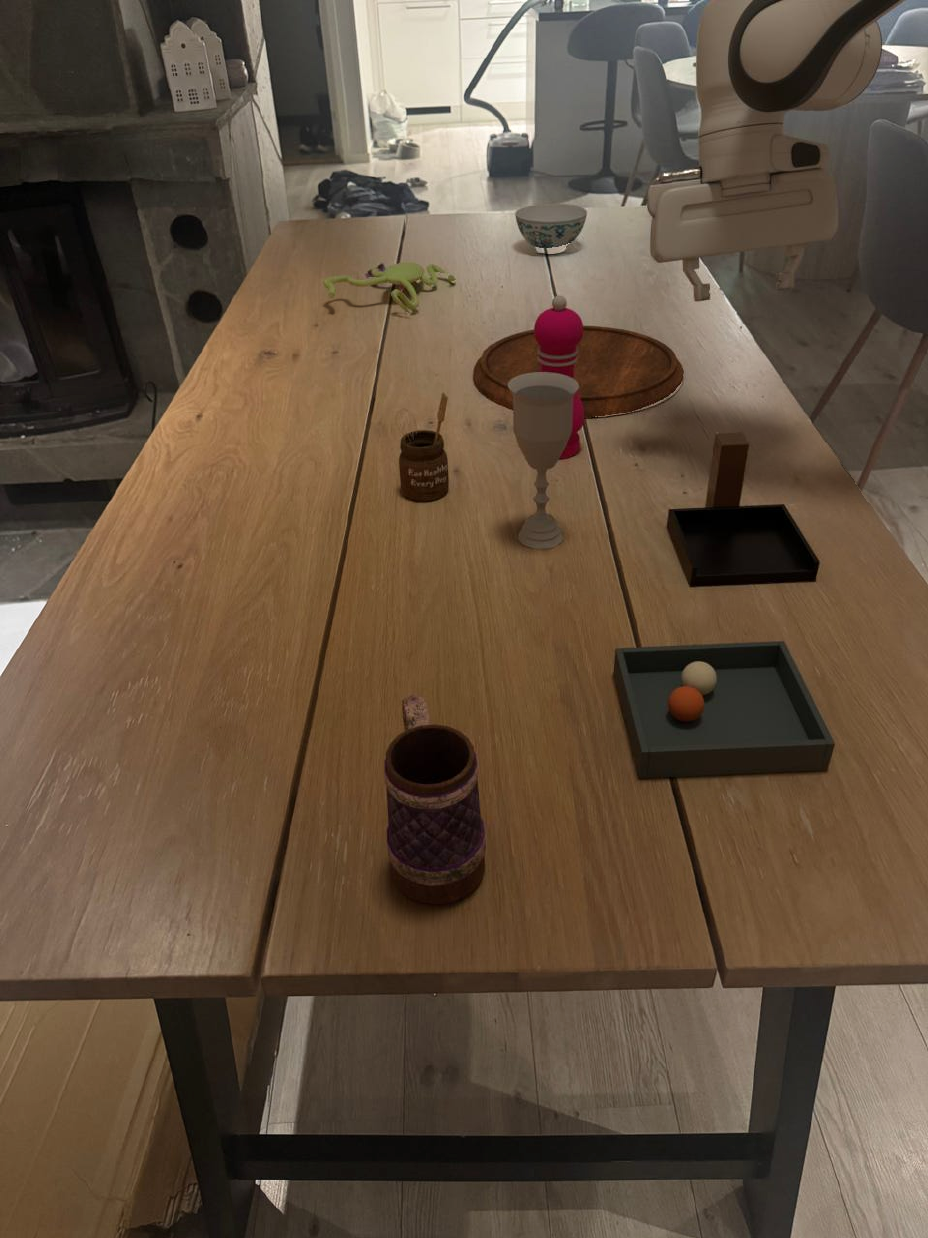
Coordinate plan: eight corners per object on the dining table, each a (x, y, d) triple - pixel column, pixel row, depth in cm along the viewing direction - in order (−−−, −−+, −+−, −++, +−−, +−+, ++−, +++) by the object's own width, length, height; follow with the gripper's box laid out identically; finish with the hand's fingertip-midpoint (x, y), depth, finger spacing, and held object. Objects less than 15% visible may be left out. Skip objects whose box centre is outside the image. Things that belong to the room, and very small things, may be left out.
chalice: (582, 530, 105) (590, 379, 95) (556, 559, 101) (561, 403, 90) (525, 515, 108) (526, 367, 98) (497, 543, 104) (495, 390, 93)
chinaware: (550, 237, 207) (551, 199, 202) (600, 249, 198) (602, 210, 193) (500, 250, 200) (500, 212, 195) (549, 264, 190) (550, 224, 186)
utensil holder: (394, 485, 116) (386, 394, 108) (442, 475, 117) (437, 385, 110) (409, 506, 111) (402, 413, 104) (458, 496, 113) (454, 403, 106)
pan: (772, 509, 108) (787, 429, 102) (815, 581, 96) (835, 495, 90) (661, 513, 108) (669, 434, 102) (690, 586, 96) (701, 501, 90)
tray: (778, 666, 85) (784, 640, 83) (827, 770, 74) (835, 743, 73) (613, 673, 85) (615, 648, 83) (638, 779, 74) (641, 752, 73)
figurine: (314, 313, 170) (310, 282, 167) (381, 272, 190) (378, 243, 186) (404, 324, 164) (401, 292, 160) (463, 280, 183) (462, 250, 180)
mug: (496, 898, 66) (493, 779, 58) (396, 917, 65) (381, 798, 57) (468, 793, 74) (462, 678, 67) (379, 808, 73) (364, 692, 66)
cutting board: (446, 406, 134) (445, 390, 133) (504, 332, 159) (503, 317, 157) (669, 427, 126) (670, 410, 125) (694, 345, 150) (695, 330, 149)
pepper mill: (554, 466, 118) (558, 309, 106) (516, 448, 123) (516, 295, 111) (594, 449, 122) (602, 295, 110) (556, 431, 126) (560, 282, 114)
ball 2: (661, 696, 80) (690, 676, 79) (682, 724, 80) (711, 705, 79) (659, 702, 77) (689, 682, 77) (681, 731, 77) (711, 711, 76)
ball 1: (670, 670, 81) (697, 679, 78) (692, 651, 82) (719, 659, 80) (679, 697, 82) (705, 706, 80) (700, 677, 83) (727, 686, 81)
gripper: (651, 171, 98) (658, 308, 103) (845, 144, 97) (843, 283, 102) (639, 177, 104) (647, 306, 109) (822, 152, 103) (821, 282, 108)
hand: (743, 295), depth 105 cm, fingers open, 8 cm apart
